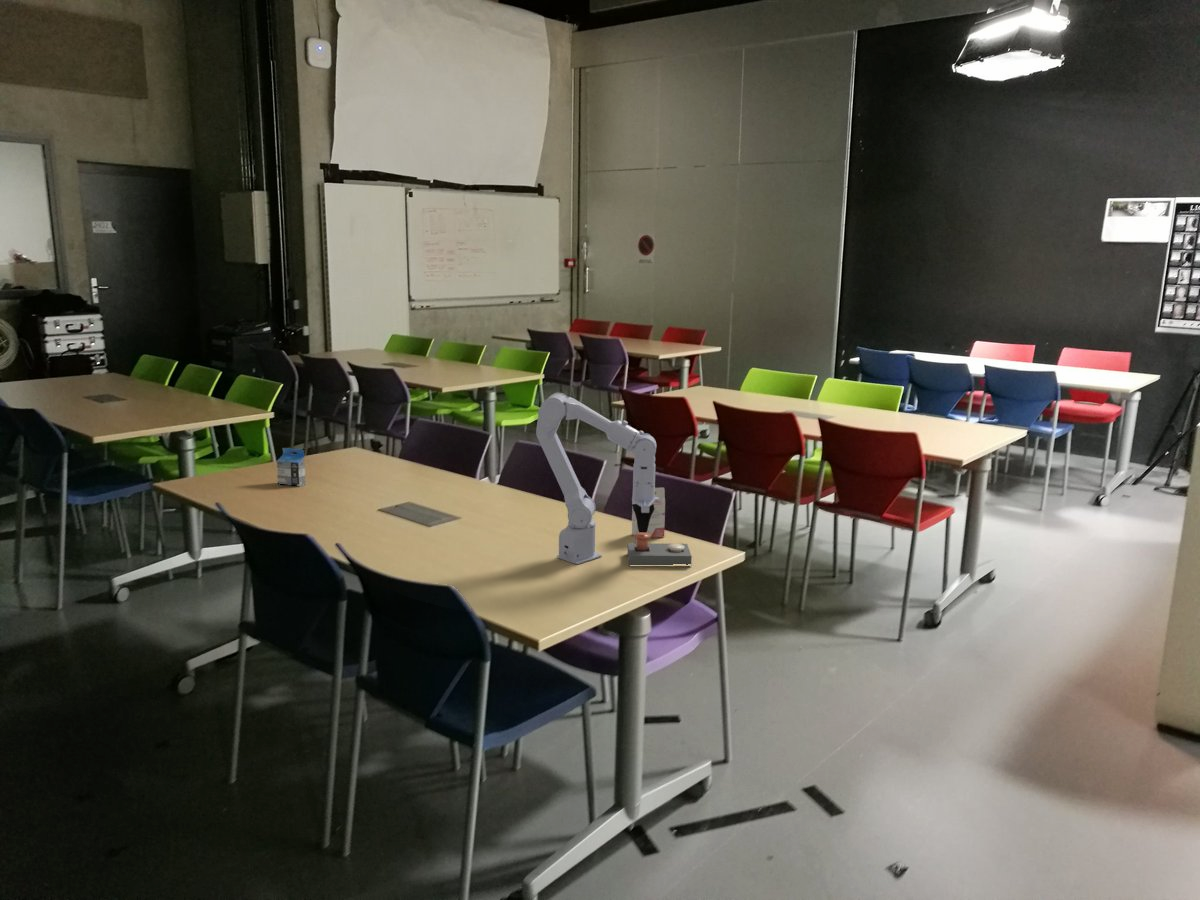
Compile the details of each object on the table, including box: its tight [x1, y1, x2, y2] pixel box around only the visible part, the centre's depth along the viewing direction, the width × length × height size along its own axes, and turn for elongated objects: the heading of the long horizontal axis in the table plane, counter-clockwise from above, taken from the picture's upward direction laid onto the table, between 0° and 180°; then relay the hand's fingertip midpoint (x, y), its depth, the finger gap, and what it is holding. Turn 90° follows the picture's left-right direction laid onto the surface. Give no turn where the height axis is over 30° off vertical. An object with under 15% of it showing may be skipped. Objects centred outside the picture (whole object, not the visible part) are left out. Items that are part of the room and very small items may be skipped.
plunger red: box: [633, 532, 652, 550], centre depth 231 cm, size 4×4×4 cm
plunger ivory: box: [668, 543, 685, 552], centre depth 232 cm, size 4×4×4 cm
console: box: [627, 542, 693, 566], centre depth 232 cm, size 16×10×3 cm, turn 91°
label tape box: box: [276, 447, 306, 487], centre depth 300 cm, size 9×4×12 cm, turn 73°
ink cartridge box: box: [631, 487, 666, 538], centre depth 251 cm, size 9×5×15 cm, turn 106°
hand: (642, 531), depth 230 cm, fingers closed
